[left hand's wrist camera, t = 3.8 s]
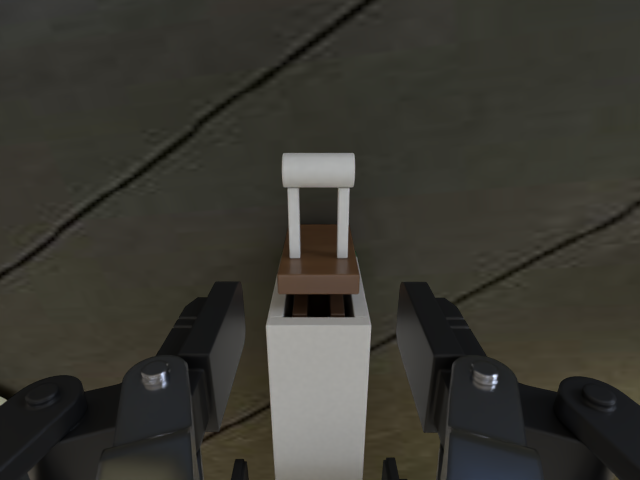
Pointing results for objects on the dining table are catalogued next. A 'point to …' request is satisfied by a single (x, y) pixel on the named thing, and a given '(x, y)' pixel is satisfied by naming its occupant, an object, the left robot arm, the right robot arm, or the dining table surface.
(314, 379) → the cabinet
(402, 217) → the dining table surface
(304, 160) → the drawer
